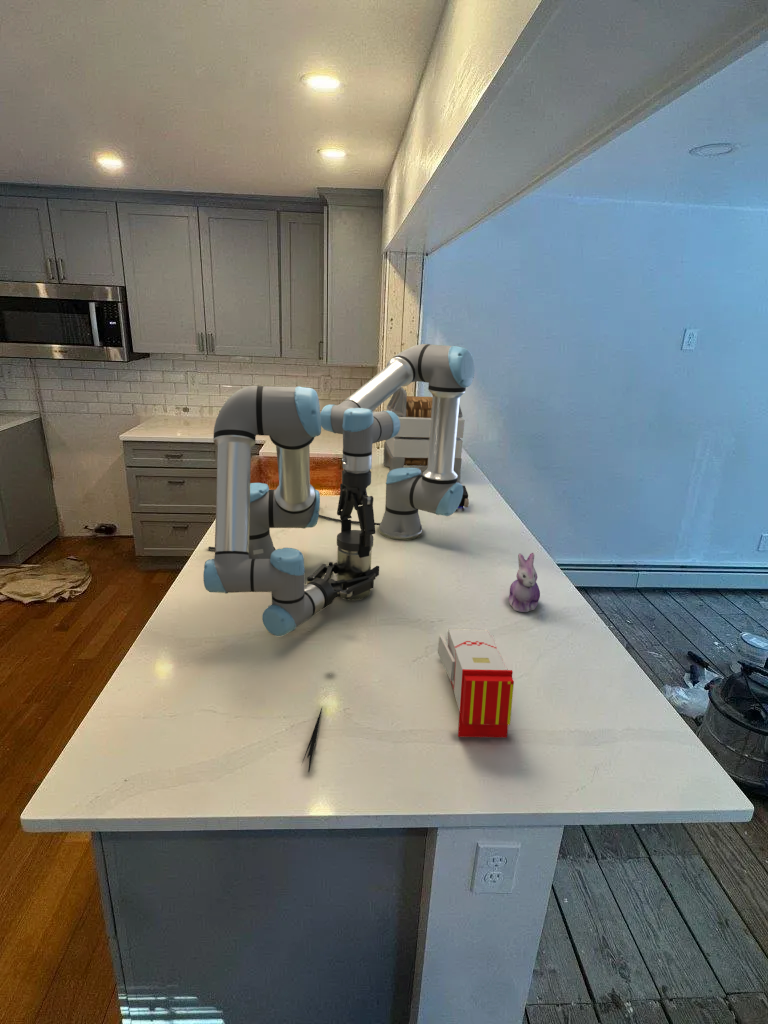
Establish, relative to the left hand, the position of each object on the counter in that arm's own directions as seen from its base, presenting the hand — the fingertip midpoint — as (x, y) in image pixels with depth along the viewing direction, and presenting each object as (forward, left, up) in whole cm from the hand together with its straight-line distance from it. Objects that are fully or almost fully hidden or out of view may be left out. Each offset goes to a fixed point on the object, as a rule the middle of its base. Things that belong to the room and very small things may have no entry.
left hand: (362, 565), depth 159 cm
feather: (+23, -51, -6) cm, 57 cm away
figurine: (+42, +16, -6) cm, 46 cm away
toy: (+44, -27, -6) cm, 52 cm away
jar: (0, -4, -6) cm, 8 cm away
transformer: (-41, +115, -6) cm, 123 cm away
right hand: (0, -4, +7) cm, 8 cm away
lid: (0, -4, +10) cm, 11 cm away
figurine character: (-6, +81, -6) cm, 81 cm away
